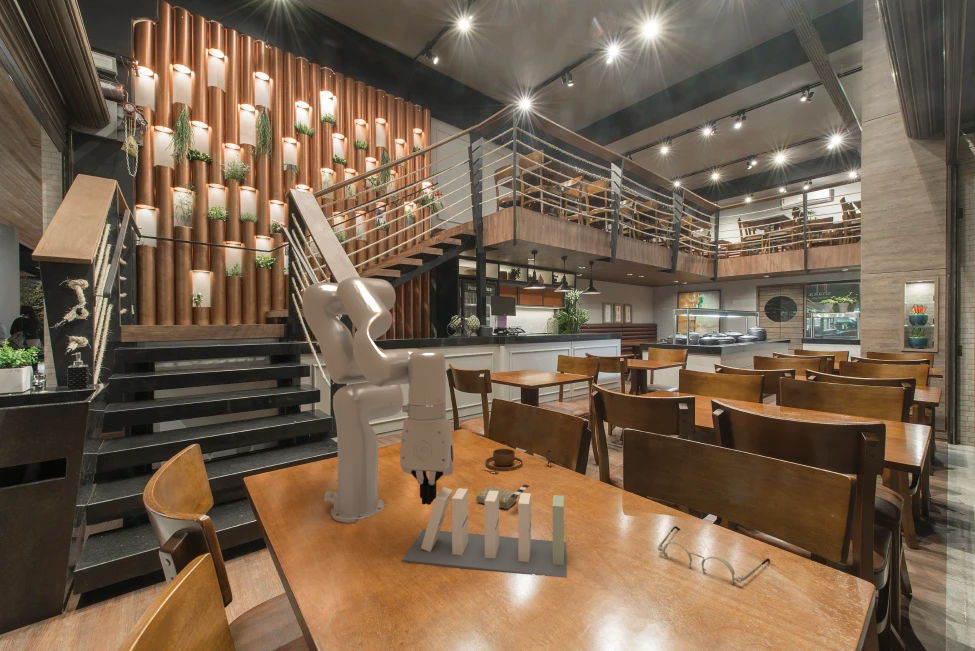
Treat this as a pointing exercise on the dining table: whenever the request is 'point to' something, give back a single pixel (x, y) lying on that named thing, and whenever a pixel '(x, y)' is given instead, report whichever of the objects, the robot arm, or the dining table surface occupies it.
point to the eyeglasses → (709, 558)
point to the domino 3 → (491, 524)
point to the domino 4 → (524, 527)
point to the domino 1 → (436, 519)
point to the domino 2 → (459, 521)
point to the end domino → (558, 530)
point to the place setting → (509, 459)
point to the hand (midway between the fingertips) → (428, 501)
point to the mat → (476, 558)
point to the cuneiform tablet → (502, 496)
